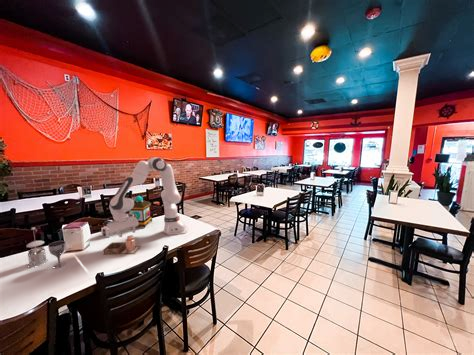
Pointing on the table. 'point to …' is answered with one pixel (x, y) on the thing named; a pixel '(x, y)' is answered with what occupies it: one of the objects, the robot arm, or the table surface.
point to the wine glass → (57, 252)
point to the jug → (130, 243)
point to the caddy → (118, 249)
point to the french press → (39, 256)
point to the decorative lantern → (141, 211)
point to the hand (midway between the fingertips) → (127, 234)
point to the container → (106, 229)
